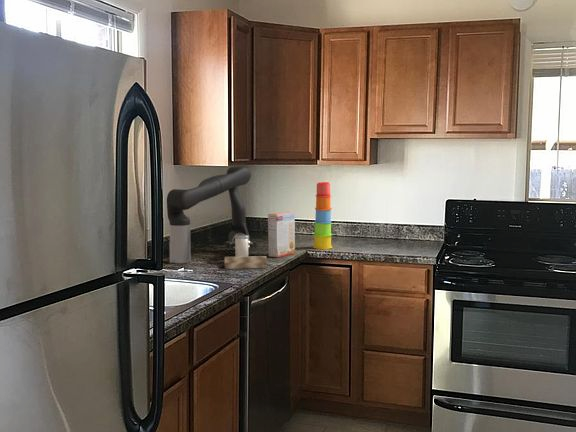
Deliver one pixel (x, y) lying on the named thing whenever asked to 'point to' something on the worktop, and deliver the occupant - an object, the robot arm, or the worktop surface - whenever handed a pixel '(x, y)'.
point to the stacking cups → (323, 217)
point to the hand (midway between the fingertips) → (241, 246)
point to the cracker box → (281, 234)
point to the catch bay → (246, 262)
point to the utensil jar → (241, 245)
